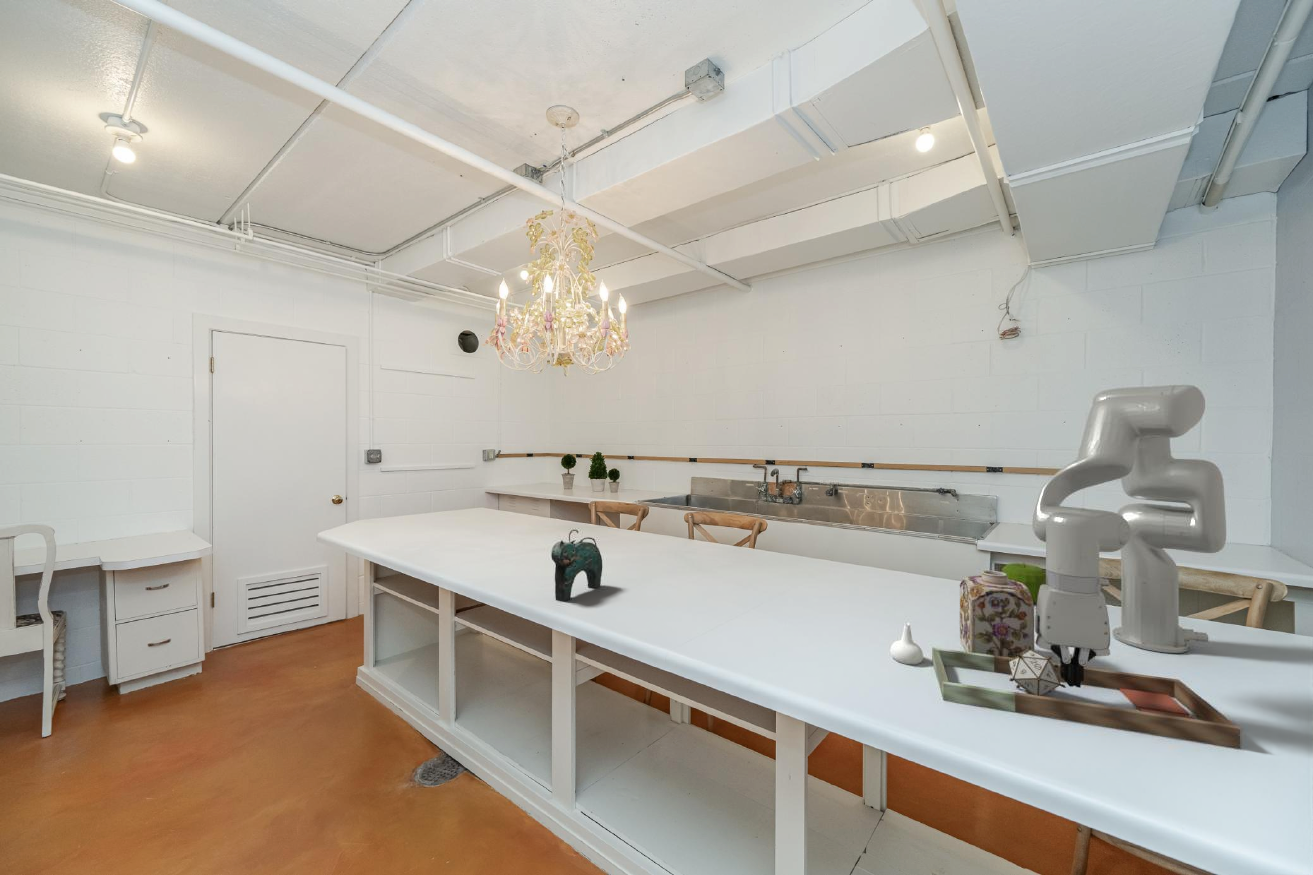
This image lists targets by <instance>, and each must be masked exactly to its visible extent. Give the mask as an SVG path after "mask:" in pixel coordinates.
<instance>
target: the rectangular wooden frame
mask: <svg viewBox="0 0 1313 875" xmlns="http://www.w3.org/2000/svg"><path fill="white" fill-rule="evenodd" d="M931 651H932V652H931V653H932V654H931V655H932V656H931V657H932V659H931V660H932V665H933V669H934V672H935V675H936V679H937V683H938V687H939V691H940V693H941V697H942V700H943V701H947V702H952V703H957V704H965V705H970V706H978V707H983V708H990V709H996V710H1002V711H1006V712H1007V711H1009V712H1014V713H1019V714H1026V715H1033V716H1038V717H1044V718H1051V719H1057V720H1058V719H1059V720H1062V721H1063V720H1064V721H1070V722H1075V723H1082V724H1087V725H1093V726H1094V725H1095V726H1101V727H1106V728H1112V729H1119V730H1125V731H1129V732H1130V731H1131V732H1137V733H1144V734H1150V735H1155V736H1161V737H1167V738H1172V739H1173V738H1174V739H1180V740H1187V741H1192V742H1199V743H1205V744H1210V745H1215V746H1216V745H1217V746H1222V747H1229V748H1235V749H1241V728H1240V727H1238V725H1236V724H1235V723H1233V722H1232V721H1231V720H1230V719H1228V717H1226V716H1224V715H1223V713H1221V712H1220V711H1219V710H1217V709H1216V708H1215V707H1214V706H1212V705H1211V704H1210V703H1209V702H1207V701H1206V700H1205V699H1204V698H1202V697H1201V696H1200V695H1198V694H1197V693H1196V692H1195V691H1193V690H1192V689H1191V688H1190V687H1189V686H1187V685H1186V684H1185V683H1183V681H1181V680H1180V679H1177V678H1171V677H1161V676H1154V675H1145V674H1139V673H1138V674H1137V673H1131V672H1124V671H1116V670H1109V669H1103V668H1102V669H1101V668H1100V669H1099V668H1093V667H1087V666H1086V667H1085V666H1084V681H1081V686H1082V685H1083V686H1090V687H1098V688H1105V689H1112V690H1113V689H1114V690H1119V691H1120V692H1121V693H1122V694H1123V696H1125V697H1126V699H1128V701H1129V702H1130V703H1131V704H1132V705H1133V706H1134V707H1135V708H1136V709H1139V710H1135V709H1129V708H1122V707H1117V706H1116V707H1115V706H1109V705H1101V704H1096V703H1095V704H1094V703H1089V702H1082V701H1075V700H1069V699H1063V698H1057V697H1056V698H1055V697H1050V696H1045V695H1042V696H1037V695H1033V694H1032V693H1029V694H1028V693H1023V692H1015V691H1009V690H1004V689H997V688H991V687H990V688H989V687H983V686H977V685H972V684H971V685H969V684H964V683H957V682H950V681H949V680H948V676H947V673H946V668H945V667H944V666H949V667H954V666H956V667H955V668H964V669H970V670H976V671H984V672H992V673H996V674H997V673H998V674H1004V675H1011V676H1012V673H1011V669H1010V665H1009V662H1005V660H1004V659H1007V660H1009V661H1010V660H1012V659H1013V658H1010V657H1002V656H994V655H987V654H979V653H971V652H966V651H962V650H957V649H949V648H948V649H947V648H939V647H932V650H931ZM1051 663H1052V664H1053V665H1055V664H1056V665H1058V667H1055V669H1056V672H1057V675H1058V678H1059V681H1060V683H1061V682H1062V683H1066V682H1065V680H1064V679H1062V677H1061V674H1060V663H1054V662H1051ZM1173 698H1175V699H1176V700H1177V701H1178V702H1179V703H1180V704H1181V705H1180V704H1179V703H1178V702H1177V701H1176V700H1174V699H1173ZM1183 706H1184V707H1185V708H1186V709H1187V710H1188V711H1190V713H1192V715H1190V713H1189V712H1188V711H1187V710H1186V709H1184V707H1183ZM1193 715H1194V716H1195V717H1196V718H1198V719H1196V718H1195V717H1194V716H1193Z"/></svg>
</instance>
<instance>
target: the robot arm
mask: <svg viewBox="0 0 1313 875" xmlns="http://www.w3.org/2000/svg"><path fill="white" fill-rule="evenodd" d="M1205 409H1206V400H1205V396H1204V394H1203V392H1202V390H1201V389H1199V387H1197V386H1195V385H1191V384H1175V385H1173V384H1172V385H1158V386H1157V385H1156V386H1136V387H1135V386H1133V387H1132V386H1131V387H1117V388H1111V389H1107V390H1101V391H1100V392H1098V393H1096V394H1095V395H1094V397H1093V400H1092V406H1091V408H1090V409H1089V412H1088V416H1087V420H1086V424H1085V428H1084V431H1083V436H1082V439H1081V443H1080V447H1079V450H1078V455H1077V457H1076V459H1075V460H1074V461H1072V462H1070V463H1069V464H1067V465H1066V466H1064V467H1062V468H1061V469H1059V470H1058V471H1057V472H1056V473H1055V474H1053V475H1052V476H1051V477H1050V478H1049V479H1048V480H1047V481H1046V482H1045V483H1044V484H1043V486H1042V487H1041V489H1040V492H1039V494H1038V497H1037V500H1036V504H1035V507H1034V512H1033V515H1032V521H1031V522H1032V524H1031V525H1032V530H1033V533H1034V535H1035V537H1036V538H1037V539H1039V541H1041V542H1043V543H1045V572H1046V585H1041V586H1040V589H1039V593H1038V598H1037V603H1036V606H1035V613H1034V632H1035V634H1037V636H1036V638H1035V641H1034V644H1036V645H1037V647H1038V648H1040V649H1043V650H1045V651H1050V652H1052V653H1053V654H1054V655H1055V656H1057V657H1058V658H1059V660H1060V662H1059V664H1060V674H1061V677H1062V679H1064V680H1065V682H1064V683H1066V684H1067V685H1068V686H1069V687H1072V688H1073V687H1076V688H1079V689H1081V688H1082V687H1081V686H1082V684H1081V681H1084V667H1085V666H1087V664H1088V663H1089V661H1091V660H1092V659H1094V658H1095V657H1108V656H1110V655H1111V650H1110V646H1111V626H1110V618H1109V611H1108V606H1107V602H1106V601H1107V600H1106V598H1105V595H1104V593H1103V591H1101V590H1102V587H1104V586H1105V587H1109V586H1110V580H1109V578H1107V577H1106V578H1105V577H1102V576H1101V575H1100V553H1101V552H1102V553H1114V552H1117V551H1120V559H1121V560H1120V561H1121V562H1120V564H1121V565H1120V566H1121V568H1120V569H1121V584H1120V585H1121V588H1120V590H1121V594H1120V595H1121V597H1120V598H1121V600H1120V601H1121V608H1120V610H1121V616H1120V617H1121V622H1120V623H1121V626H1120V627H1116V628H1113V629H1112V636H1113V637H1114V638H1115V639H1116V640H1118V641H1120V642H1122V643H1124V644H1126V645H1129V646H1132V647H1135V648H1138V649H1144V650H1148V651H1154V652H1158V653H1166V654H1167V653H1168V654H1179V653H1180V654H1182V653H1185V652H1188V651H1189V650H1190V649H1189V644H1188V642H1189V641H1196V642H1205V643H1207V642H1209V635H1208V634H1207V633H1206V632H1201V631H1194V630H1193V629H1190V628H1183V627H1182V626H1180V625H1179V617H1180V616H1179V608H1180V607H1179V606H1180V605H1179V601H1180V600H1179V598H1180V596H1179V595H1180V594H1179V593H1180V592H1179V591H1180V588H1179V586H1180V585H1179V584H1180V583H1179V582H1180V581H1179V578H1180V577H1179V576H1180V573H1179V572H1180V571H1179V568H1178V566H1177V563H1176V562H1175V561H1174V559H1173V558H1172V557H1171V556H1170V555H1169V554H1168V552H1167V551H1166V550H1167V549H1168V550H1176V551H1185V552H1193V553H1200V554H1216V553H1219V552H1220V551H1222V550H1223V549H1224V547H1225V545H1226V541H1227V518H1226V503H1225V499H1226V498H1225V487H1224V486H1225V485H1224V478H1223V474H1222V472H1221V470H1220V468H1219V467H1218V466H1217V465H1216V464H1215V463H1214V462H1211V461H1209V460H1206V459H1199V458H1198V459H1197V458H1195V459H1194V458H1174V457H1173V456H1172V452H1171V439H1174V438H1179V437H1182V436H1184V435H1185V434H1187V433H1188V432H1189V431H1190V430H1191V429H1193V428H1194V427H1196V426H1197V425H1198V423H1199V422H1200V421H1201V420H1202V418H1203V416H1204V413H1205ZM1119 479H1120V480H1121V485H1122V489H1123V492H1124V493H1125V495H1127V496H1128V497H1130V498H1133V499H1136V500H1144V501H1154V502H1155V501H1156V502H1164V503H1165V502H1166V503H1180V504H1187V505H1188V506H1190V507H1187V506H1178V505H1174V506H1173V505H1169V504H1168V505H1167V504H1155V503H1154V504H1153V503H1130V504H1126V505H1124V506H1122V507H1121V508H1119V509H1118V511H1117V512H1114V511H1108V510H1101V509H1092V508H1091V509H1090V508H1084V507H1072V506H1061V505H1062V504H1063V502H1064V501H1065V500H1066V498H1068V497H1069V496H1070V495H1072V494H1074V493H1076V492H1078V491H1082V490H1084V489H1087V488H1091V487H1094V486H1097V485H1102V484H1104V483H1108V482H1112V481H1115V480H1116V481H1117V480H1119ZM1165 549H1166V550H1165ZM1070 648H1074V649H1073V653H1072V657H1071V655H1070Z"/></svg>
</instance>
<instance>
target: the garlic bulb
mask: <svg viewBox="0 0 1313 875" xmlns="http://www.w3.org/2000/svg"><path fill="white" fill-rule="evenodd" d="M903 624H904V626H903V630H902V636H901V639H900V640H899V639H898V640H896V641H894V642H893V643H892V644H891V646H890V648H889V649H890V650H889V651H890V652H889V653H890V656H891V658H892V659H893V660H895V661H896V662H898V663H900V664H905V665H912V666H913V665H919V664H921V663H922V662H923V659H924V654H923V650H922V649H921V647H920V646H919V645H918V644H917V643H916V642H914V640H913V636H912V630H911V623H909V622H903Z"/></svg>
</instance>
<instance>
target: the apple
mask: <svg viewBox="0 0 1313 875" xmlns="http://www.w3.org/2000/svg"><path fill="white" fill-rule="evenodd" d="M1001 572H1002V573H1005V574H1007V579H1010V580H1014V581H1017V582H1020V583H1023V584H1024V585H1025V586H1026V587H1027V588H1028V589H1029V591H1030V595H1031V597H1032V598H1033V603H1034V604H1037V598H1038V593H1039V589H1040V586H1041V585H1046V570H1044V569H1043V568H1042V567H1039V566H1035V565H1031V564H1025V562H1022V563H1017V562H1016V563H1008V564H1006V565H1005V566H1004V567H1003V566H1002V568H1001Z"/></svg>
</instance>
